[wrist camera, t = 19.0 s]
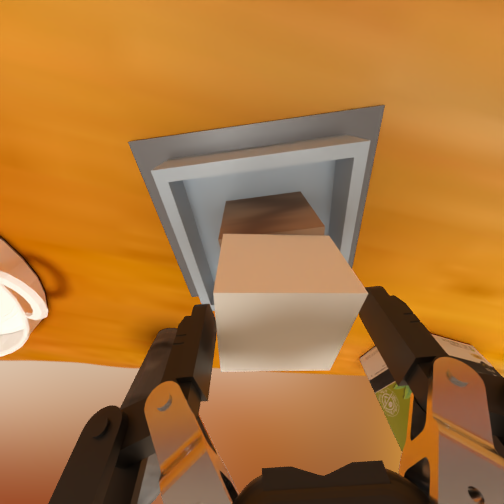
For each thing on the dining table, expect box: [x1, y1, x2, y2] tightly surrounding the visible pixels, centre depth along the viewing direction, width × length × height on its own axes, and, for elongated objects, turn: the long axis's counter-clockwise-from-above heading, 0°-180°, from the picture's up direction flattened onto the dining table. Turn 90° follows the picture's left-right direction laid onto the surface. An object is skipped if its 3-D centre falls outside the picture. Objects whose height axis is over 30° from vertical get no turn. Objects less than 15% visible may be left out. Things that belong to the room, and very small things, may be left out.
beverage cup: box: [120, 328, 177, 504], centre depth 21 cm, size 7×7×20 cm
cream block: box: [213, 234, 368, 372], centre depth 11 cm, size 6×6×4 cm
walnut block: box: [218, 191, 325, 249], centre depth 16 cm, size 6×6×6 cm
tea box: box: [360, 334, 502, 452], centre depth 27 cm, size 15×10×15 cm, turn 67°
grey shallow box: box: [128, 105, 385, 311], centre depth 18 cm, size 18×16×4 cm
